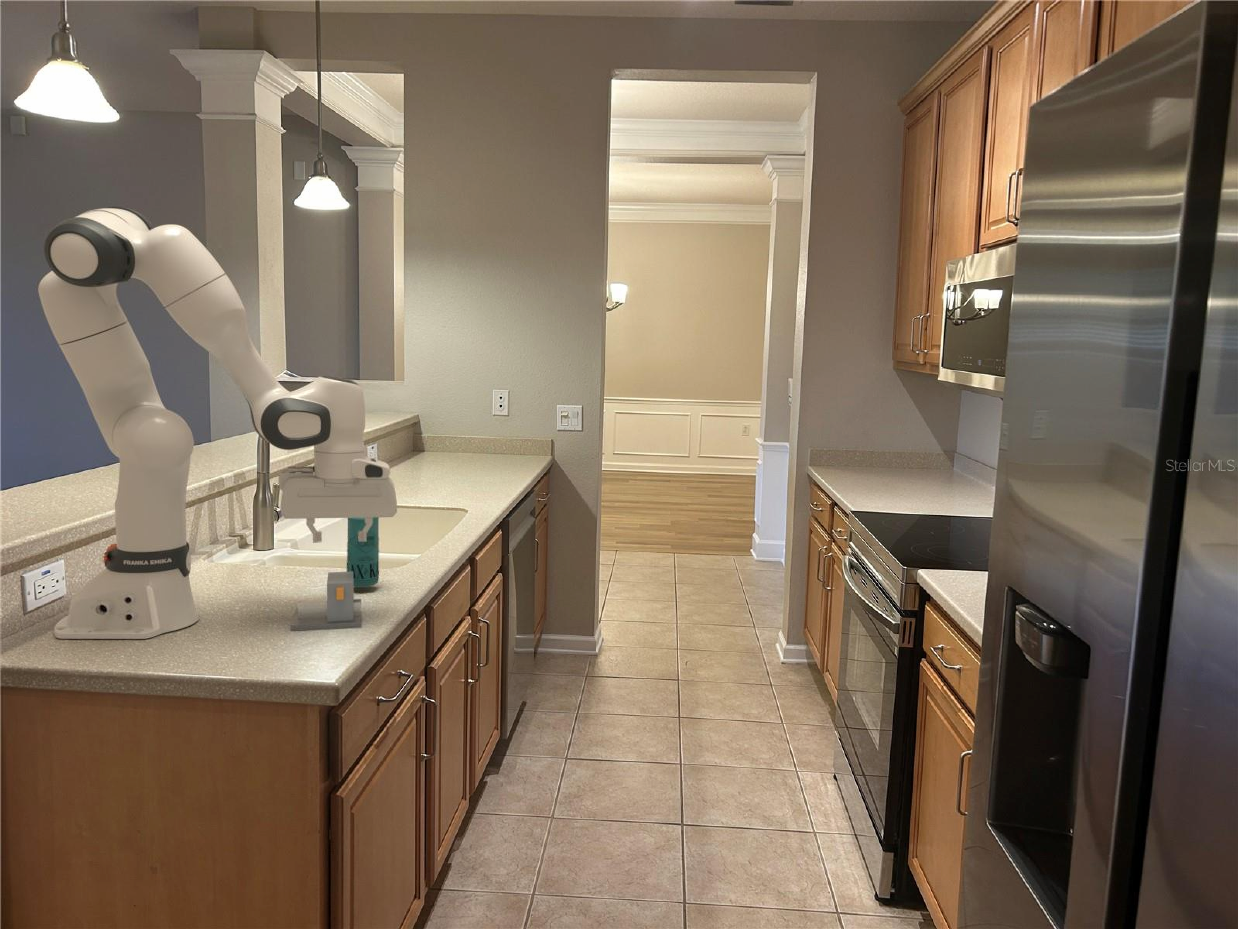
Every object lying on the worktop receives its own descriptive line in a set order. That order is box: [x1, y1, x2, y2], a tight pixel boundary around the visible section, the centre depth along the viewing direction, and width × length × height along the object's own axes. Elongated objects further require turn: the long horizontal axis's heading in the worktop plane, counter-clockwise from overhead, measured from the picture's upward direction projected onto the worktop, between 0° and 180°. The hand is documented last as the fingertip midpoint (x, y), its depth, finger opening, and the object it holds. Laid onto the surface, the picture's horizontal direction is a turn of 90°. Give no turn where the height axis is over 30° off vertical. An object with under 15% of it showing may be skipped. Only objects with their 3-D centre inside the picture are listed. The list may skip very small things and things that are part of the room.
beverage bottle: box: [346, 517, 380, 588], centre depth 187 cm, size 6×7×20 cm
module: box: [326, 571, 355, 622], centre depth 168 cm, size 4×9×7 cm, turn 16°
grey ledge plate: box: [290, 598, 362, 632], centre depth 167 cm, size 12×10×4 cm
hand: (339, 541), depth 166 cm, fingers open, 6 cm apart
